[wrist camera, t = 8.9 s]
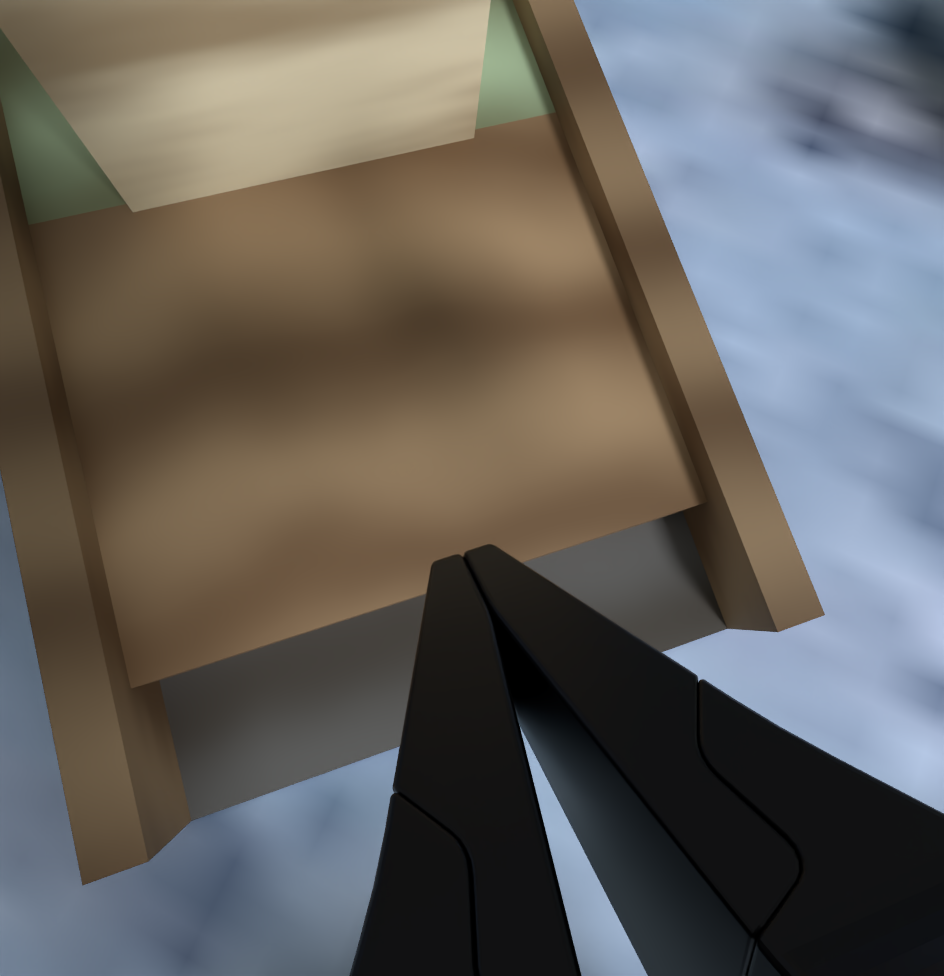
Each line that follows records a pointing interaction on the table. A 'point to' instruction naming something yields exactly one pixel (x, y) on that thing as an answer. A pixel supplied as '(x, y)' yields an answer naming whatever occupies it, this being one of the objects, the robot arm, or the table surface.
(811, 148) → the table surface
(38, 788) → the table surface
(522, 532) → the trap lane
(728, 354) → the table surface
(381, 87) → the birch block
